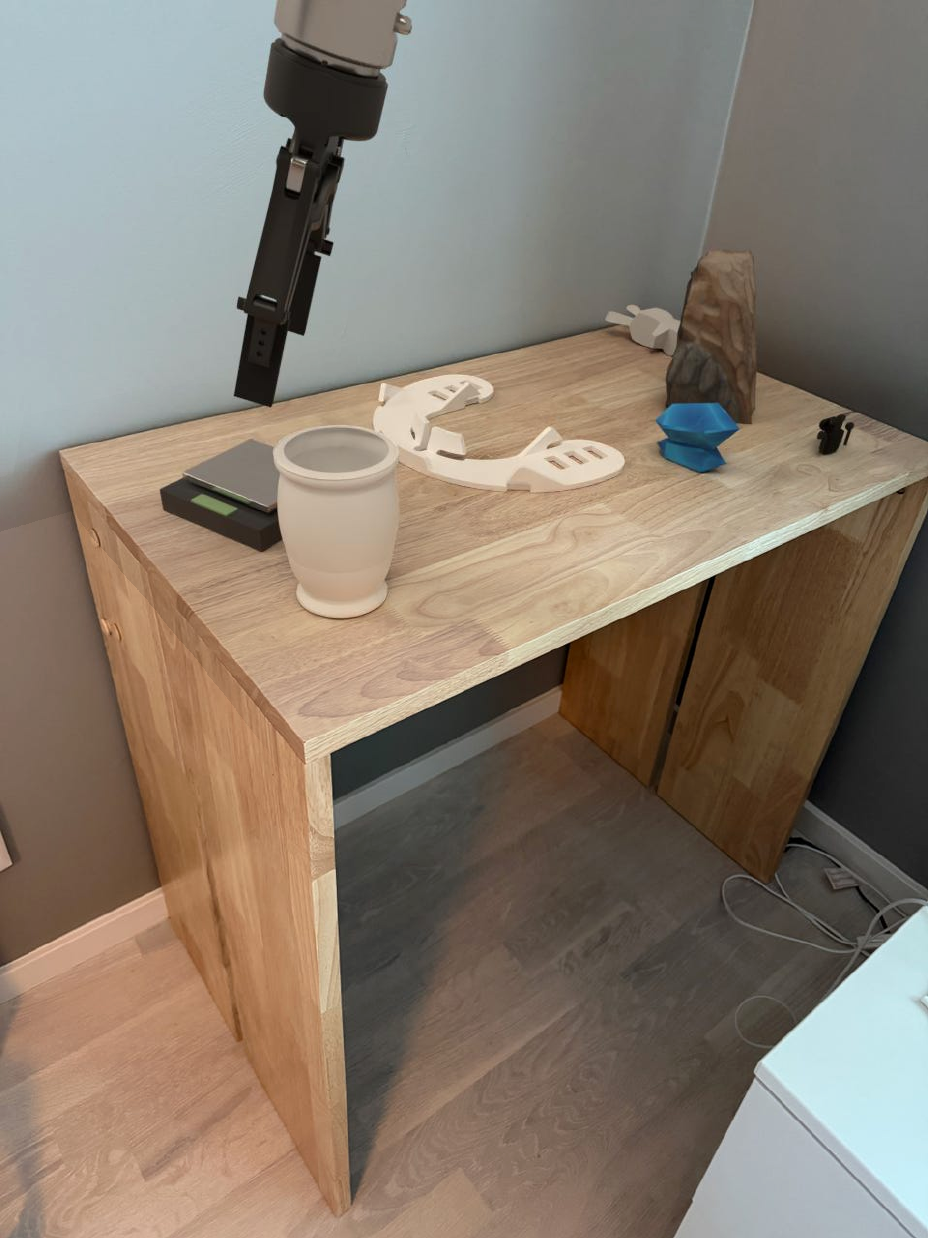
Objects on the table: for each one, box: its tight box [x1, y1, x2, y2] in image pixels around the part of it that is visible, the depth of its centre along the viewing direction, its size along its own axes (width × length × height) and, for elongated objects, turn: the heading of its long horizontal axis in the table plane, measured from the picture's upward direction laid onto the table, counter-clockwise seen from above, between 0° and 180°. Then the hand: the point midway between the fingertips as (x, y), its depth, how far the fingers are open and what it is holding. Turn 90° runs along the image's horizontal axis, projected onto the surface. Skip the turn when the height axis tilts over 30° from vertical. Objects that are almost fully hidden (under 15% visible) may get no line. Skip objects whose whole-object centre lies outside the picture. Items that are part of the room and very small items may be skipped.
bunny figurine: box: [605, 304, 681, 357], centre depth 142 cm, size 10×5×15 cm
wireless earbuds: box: [816, 413, 855, 455], centre depth 112 cm, size 7×2×5 cm, turn 123°
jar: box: [273, 424, 400, 619], centre depth 78 cm, size 11×10×15 cm
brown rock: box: [665, 248, 758, 425], centre depth 118 cm, size 13×13×20 cm
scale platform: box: [181, 438, 281, 513], centre depth 94 cm, size 12×10×1 cm
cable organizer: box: [372, 374, 626, 494], centre depth 111 cm, size 35×24×3 cm
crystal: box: [654, 403, 741, 474], centre depth 106 cm, size 7×9×12 cm
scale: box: [159, 477, 283, 553], centre depth 95 cm, size 14×14×3 cm
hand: (272, 362), depth 68 cm, fingers open, 13 cm apart
